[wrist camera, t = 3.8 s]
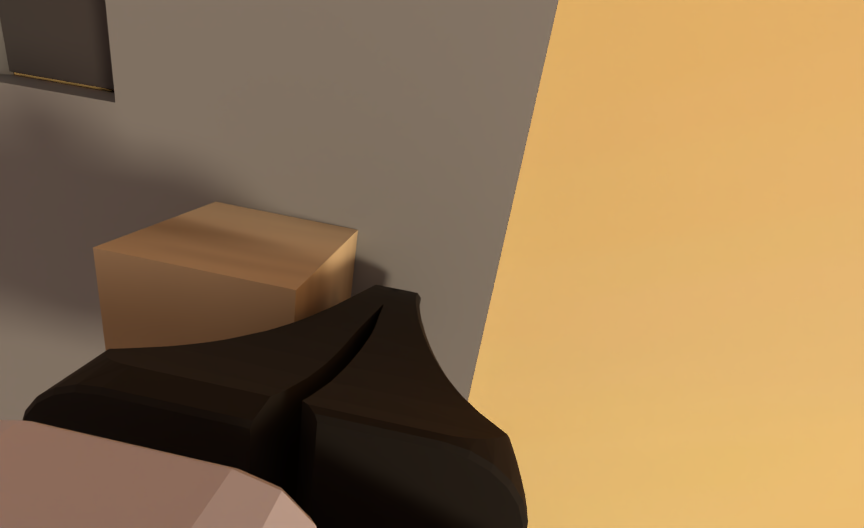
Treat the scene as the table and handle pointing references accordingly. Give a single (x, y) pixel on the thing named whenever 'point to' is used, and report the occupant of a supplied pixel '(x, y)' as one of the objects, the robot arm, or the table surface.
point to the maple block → (219, 276)
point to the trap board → (259, 148)
